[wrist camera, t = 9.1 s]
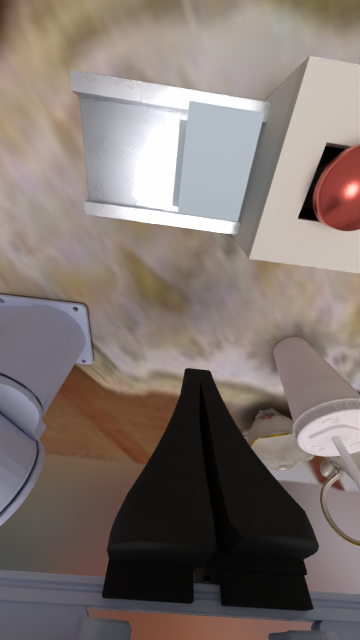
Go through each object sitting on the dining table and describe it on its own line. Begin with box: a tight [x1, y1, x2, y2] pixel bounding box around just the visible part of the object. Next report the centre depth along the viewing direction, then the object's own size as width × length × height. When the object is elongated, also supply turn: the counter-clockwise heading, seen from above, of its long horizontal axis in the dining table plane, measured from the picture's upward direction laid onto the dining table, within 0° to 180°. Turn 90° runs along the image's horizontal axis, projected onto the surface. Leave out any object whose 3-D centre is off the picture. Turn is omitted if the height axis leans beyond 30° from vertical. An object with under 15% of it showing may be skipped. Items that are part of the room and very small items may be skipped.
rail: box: [70, 70, 271, 235], centre depth 15 cm, size 11×7×2 cm, turn 83°
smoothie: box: [273, 337, 360, 490], centre depth 18 cm, size 6×6×14 cm
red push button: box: [303, 144, 360, 231], centre depth 11 cm, size 3×3×5 cm
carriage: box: [172, 100, 264, 222], centre depth 12 cm, size 4×4×6 cm
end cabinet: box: [231, 56, 360, 273], centre depth 13 cm, size 7×8×6 cm
